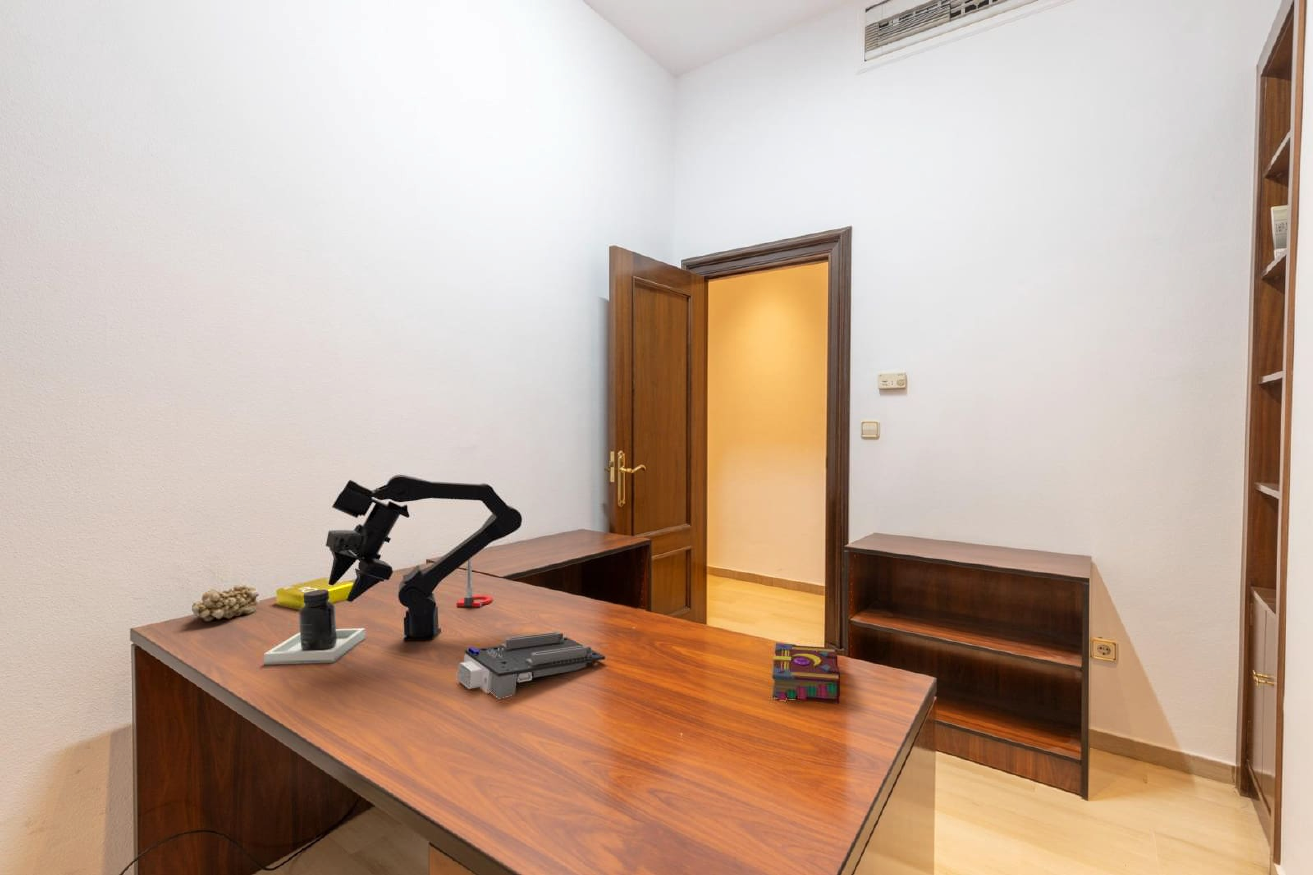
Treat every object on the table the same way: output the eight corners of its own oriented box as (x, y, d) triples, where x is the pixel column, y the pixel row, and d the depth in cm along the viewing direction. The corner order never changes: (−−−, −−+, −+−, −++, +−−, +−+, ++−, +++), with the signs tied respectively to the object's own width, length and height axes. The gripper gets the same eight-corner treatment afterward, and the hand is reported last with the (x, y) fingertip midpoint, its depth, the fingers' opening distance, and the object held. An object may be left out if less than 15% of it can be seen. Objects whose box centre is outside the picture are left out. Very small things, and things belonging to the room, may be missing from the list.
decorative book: (836, 669, 114) (835, 644, 114) (841, 710, 98) (841, 680, 98) (775, 665, 117) (775, 640, 117) (771, 704, 101) (771, 674, 101)
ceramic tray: (365, 637, 136) (365, 628, 136) (333, 662, 123) (333, 651, 122) (303, 639, 136) (303, 630, 136) (264, 664, 122) (264, 653, 122)
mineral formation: (266, 609, 160) (223, 624, 145) (217, 618, 160) (170, 634, 145) (261, 579, 160) (218, 591, 145) (213, 588, 161) (165, 601, 146)
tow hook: (469, 599, 167) (452, 607, 158) (469, 552, 167) (452, 558, 158) (497, 599, 166) (482, 608, 157) (497, 553, 166) (482, 559, 157)
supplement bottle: (321, 639, 134) (319, 586, 134) (344, 643, 132) (341, 589, 131) (293, 651, 128) (290, 595, 127) (315, 654, 125) (313, 598, 125)
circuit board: (603, 682, 118) (564, 660, 130) (606, 647, 119) (567, 629, 130) (484, 705, 102) (451, 678, 114) (488, 665, 103) (455, 642, 114)
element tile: (358, 597, 171) (357, 580, 171) (306, 612, 158) (305, 594, 158) (325, 591, 178) (325, 575, 178) (273, 605, 165) (272, 588, 165)
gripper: (326, 502, 132) (287, 567, 129) (365, 530, 121) (323, 602, 117) (369, 518, 141) (334, 580, 137) (409, 545, 129) (371, 613, 126)
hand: (339, 592), depth 129 cm, fingers open, 9 cm apart
